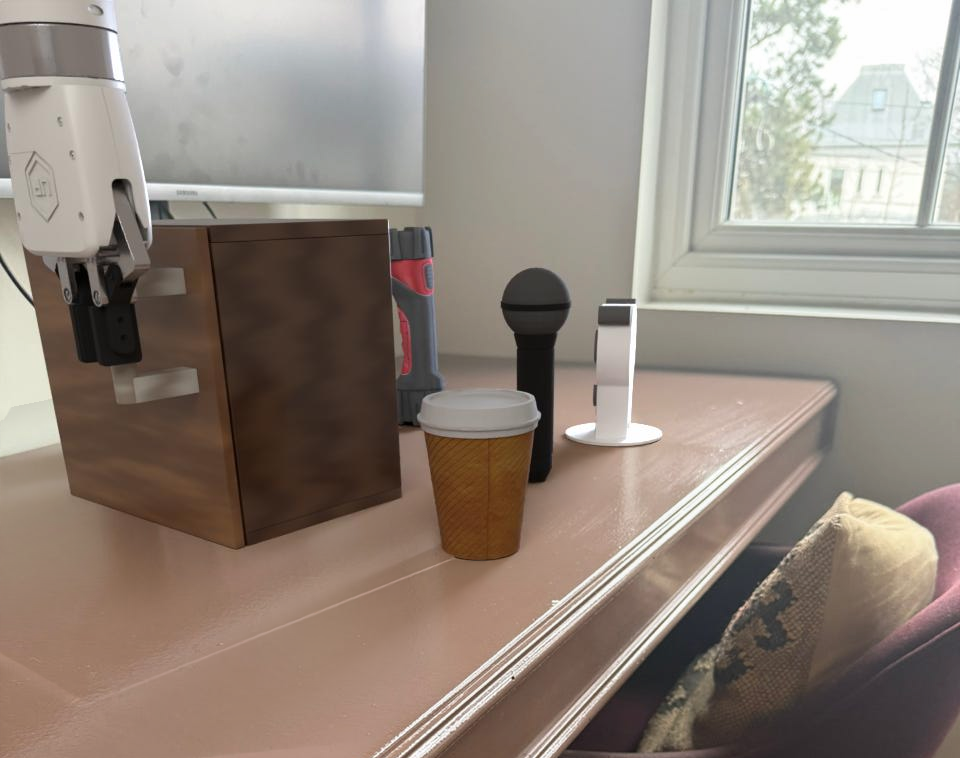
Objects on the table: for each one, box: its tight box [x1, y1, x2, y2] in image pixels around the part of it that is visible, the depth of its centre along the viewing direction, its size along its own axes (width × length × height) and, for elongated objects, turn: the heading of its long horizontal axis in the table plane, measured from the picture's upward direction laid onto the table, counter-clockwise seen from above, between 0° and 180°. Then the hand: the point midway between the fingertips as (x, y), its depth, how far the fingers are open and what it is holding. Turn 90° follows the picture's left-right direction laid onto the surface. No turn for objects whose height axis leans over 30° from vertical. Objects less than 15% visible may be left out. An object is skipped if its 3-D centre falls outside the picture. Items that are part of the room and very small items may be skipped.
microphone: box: [500, 267, 572, 484], centre depth 93 cm, size 7×7×20 cm
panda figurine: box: [565, 297, 663, 447], centre depth 112 cm, size 12×11×15 cm
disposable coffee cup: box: [417, 387, 541, 561], centre depth 76 cm, size 10×10×12 cm
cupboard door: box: [21, 227, 246, 550], centre depth 80 cm, size 7×26×24 cm, turn 49°
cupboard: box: [151, 218, 403, 547], centre depth 89 cm, size 18×26×24 cm
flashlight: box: [389, 226, 446, 427], centre depth 119 cm, size 8×8×23 cm
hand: (110, 360), depth 70 cm, fingers closed on cupboard door, 2 cm apart
